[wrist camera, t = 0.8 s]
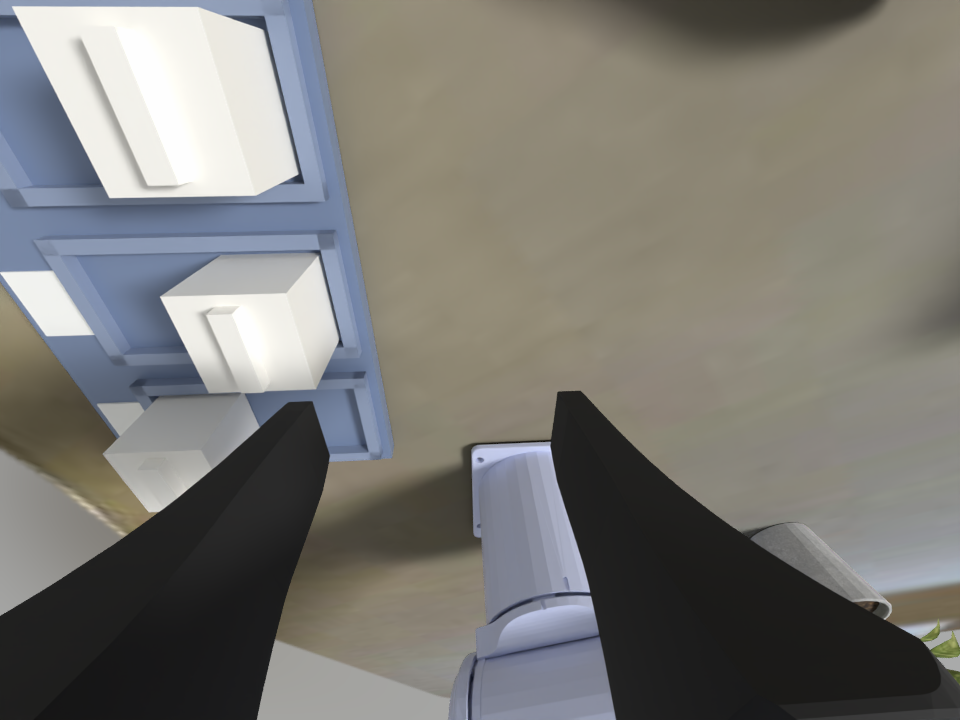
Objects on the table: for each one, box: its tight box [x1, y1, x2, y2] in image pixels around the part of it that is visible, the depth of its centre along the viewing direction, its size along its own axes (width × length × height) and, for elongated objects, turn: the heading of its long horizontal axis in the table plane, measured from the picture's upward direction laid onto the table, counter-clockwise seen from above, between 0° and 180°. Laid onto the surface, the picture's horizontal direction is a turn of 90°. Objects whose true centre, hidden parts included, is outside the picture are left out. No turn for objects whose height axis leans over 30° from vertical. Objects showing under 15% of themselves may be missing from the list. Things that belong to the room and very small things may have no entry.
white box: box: [12, 6, 302, 198], centre depth 11 cm, size 4×4×5 cm
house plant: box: [751, 523, 960, 684], centre depth 25 cm, size 14×14×16 cm
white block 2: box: [103, 393, 260, 512], centre depth 19 cm, size 4×4×5 cm
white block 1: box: [160, 253, 341, 393], centre depth 15 cm, size 4×4×5 cm
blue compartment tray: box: [0, 0, 394, 462], centre depth 17 cm, size 21×14×2 cm
